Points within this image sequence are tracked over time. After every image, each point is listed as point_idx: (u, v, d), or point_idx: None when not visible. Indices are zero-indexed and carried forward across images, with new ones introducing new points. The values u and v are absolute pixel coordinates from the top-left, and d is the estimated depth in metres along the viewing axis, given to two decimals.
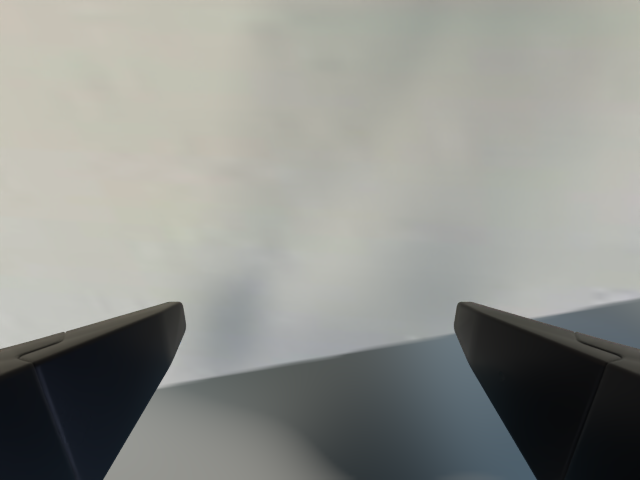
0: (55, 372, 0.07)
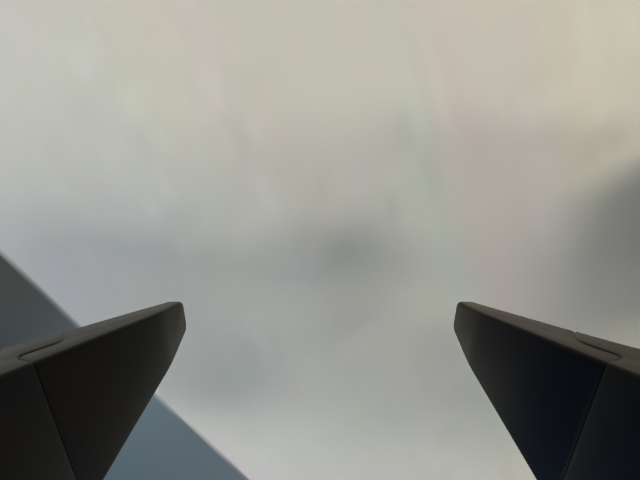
0: (55, 372, 0.07)
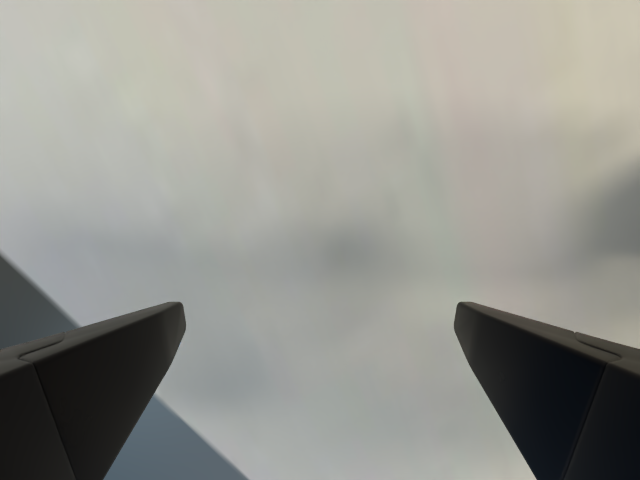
0: (55, 372, 0.07)
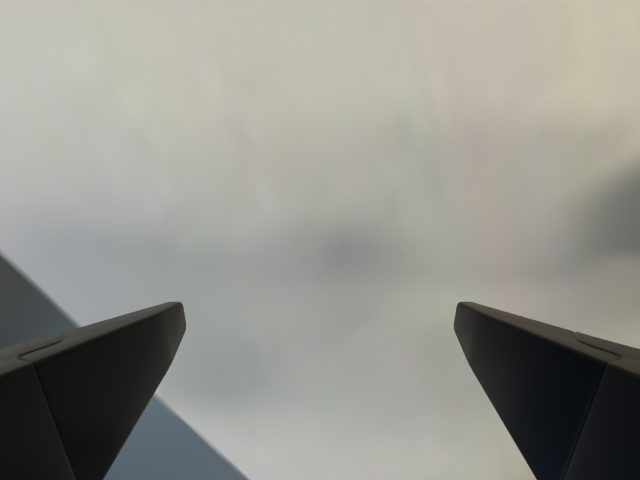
0: (55, 372, 0.07)
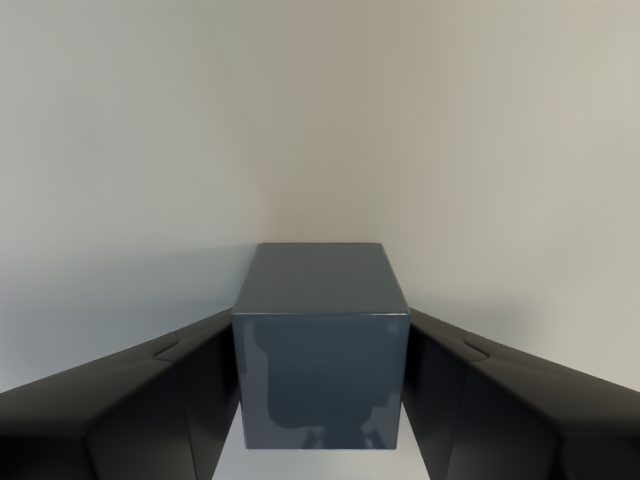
0: (187, 372, 0.07)
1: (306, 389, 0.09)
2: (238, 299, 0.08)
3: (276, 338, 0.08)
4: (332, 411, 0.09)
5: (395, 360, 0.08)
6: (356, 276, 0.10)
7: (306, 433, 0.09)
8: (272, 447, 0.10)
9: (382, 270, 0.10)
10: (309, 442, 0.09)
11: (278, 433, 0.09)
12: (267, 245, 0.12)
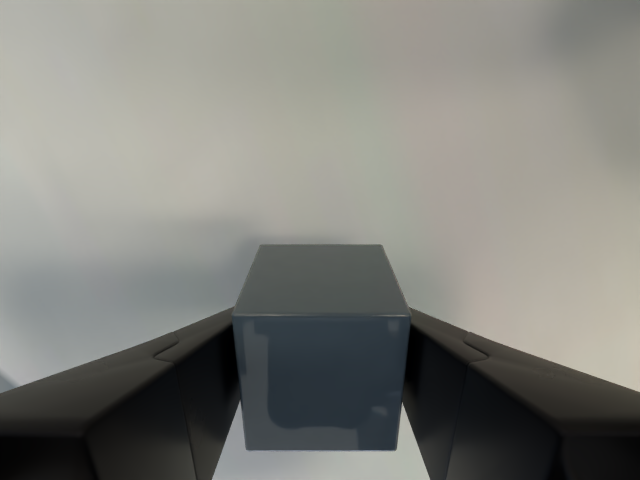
0: (187, 372, 0.07)
1: (306, 391, 0.09)
2: (239, 300, 0.08)
3: (276, 340, 0.08)
4: (332, 412, 0.09)
5: (395, 361, 0.08)
6: (357, 277, 0.10)
7: (306, 434, 0.09)
8: (272, 448, 0.10)
9: (382, 271, 0.10)
10: (310, 443, 0.09)
11: (279, 434, 0.09)
12: (267, 246, 0.12)
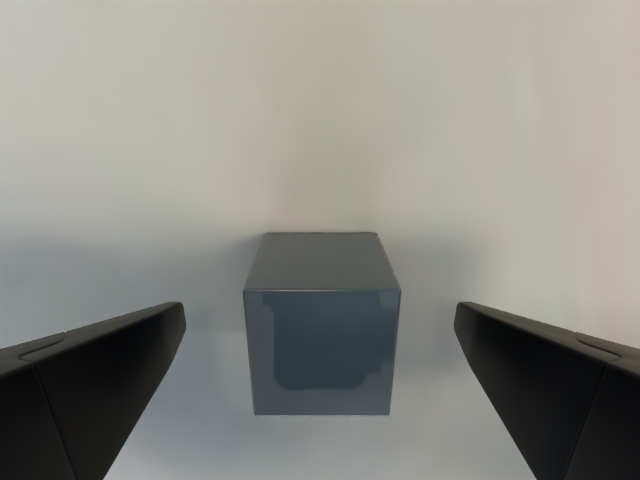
0: (55, 372, 0.07)
1: (309, 359, 0.10)
2: (248, 279, 0.10)
3: (282, 312, 0.09)
4: (332, 379, 0.10)
5: (387, 332, 0.10)
6: (354, 260, 0.11)
7: (309, 400, 0.10)
8: (278, 414, 0.11)
9: (377, 255, 0.11)
10: (311, 408, 0.10)
11: (284, 400, 0.10)
12: (272, 234, 0.13)
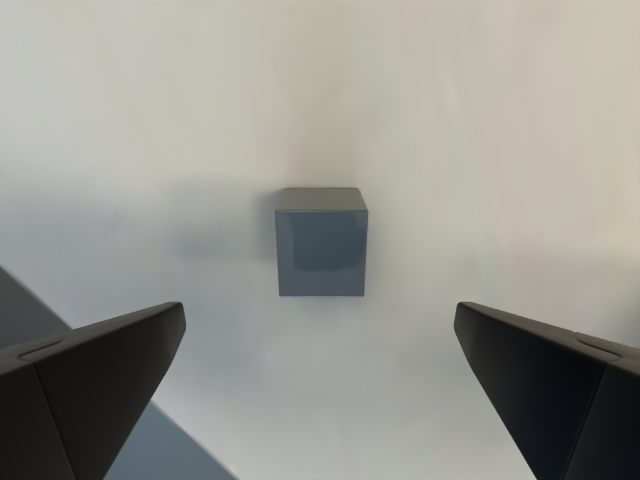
0: (55, 372, 0.07)
1: (314, 256, 0.16)
2: (278, 206, 0.16)
3: (298, 225, 0.16)
4: (327, 270, 0.17)
5: (360, 238, 0.16)
6: (341, 199, 0.17)
7: (313, 285, 0.17)
8: (294, 296, 0.17)
9: (356, 197, 0.17)
10: (315, 291, 0.17)
11: (298, 285, 0.17)
12: (289, 189, 0.19)
